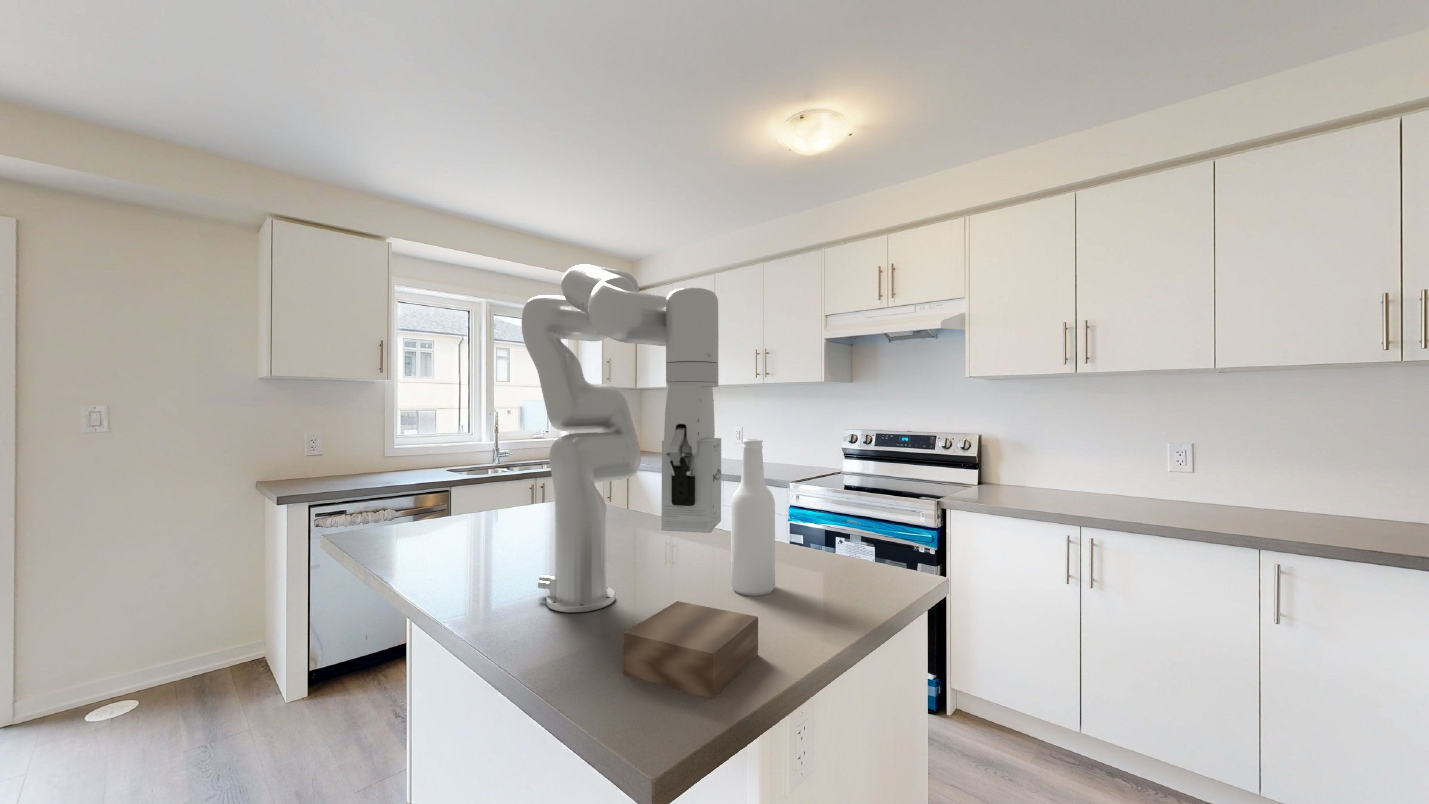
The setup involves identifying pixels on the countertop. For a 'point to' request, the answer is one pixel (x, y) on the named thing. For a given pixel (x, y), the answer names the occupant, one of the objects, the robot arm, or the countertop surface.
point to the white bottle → (752, 527)
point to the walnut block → (691, 648)
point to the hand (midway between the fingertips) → (692, 499)
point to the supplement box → (706, 491)
